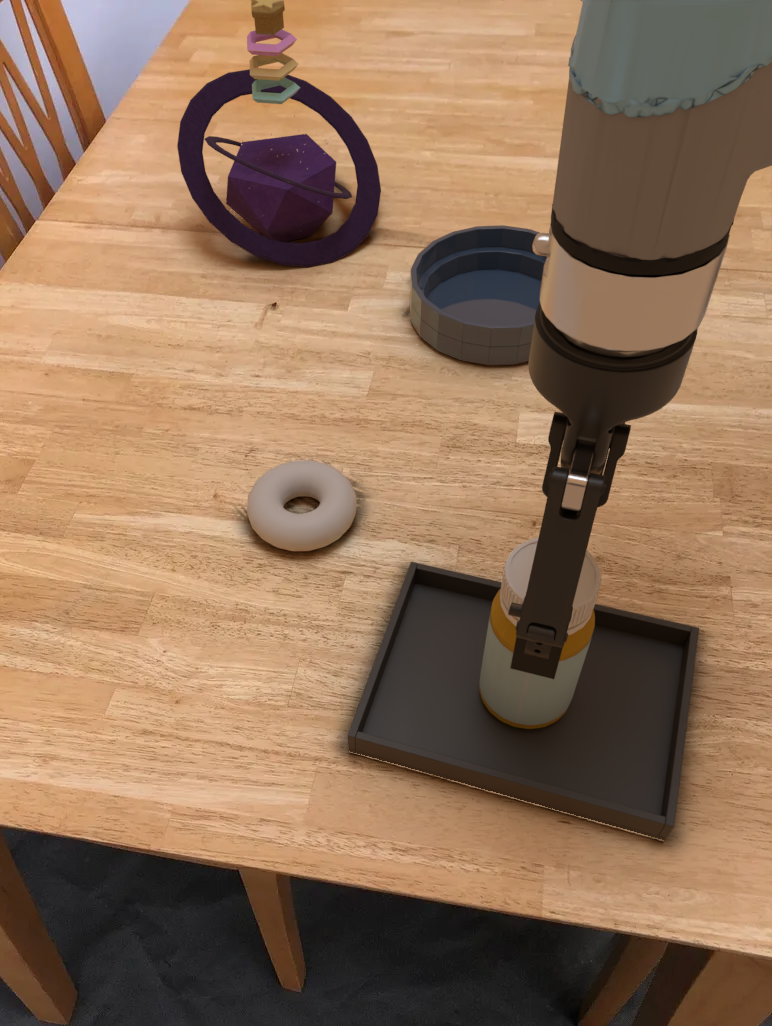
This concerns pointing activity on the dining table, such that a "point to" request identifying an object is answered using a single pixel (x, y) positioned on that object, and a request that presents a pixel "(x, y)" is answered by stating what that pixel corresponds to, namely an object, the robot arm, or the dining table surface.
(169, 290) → the dining table surface
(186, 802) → the dining table surface
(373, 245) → the dining table surface
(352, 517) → the donut
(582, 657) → the bottle
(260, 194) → the ringed planet model
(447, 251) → the bowl
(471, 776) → the tray
